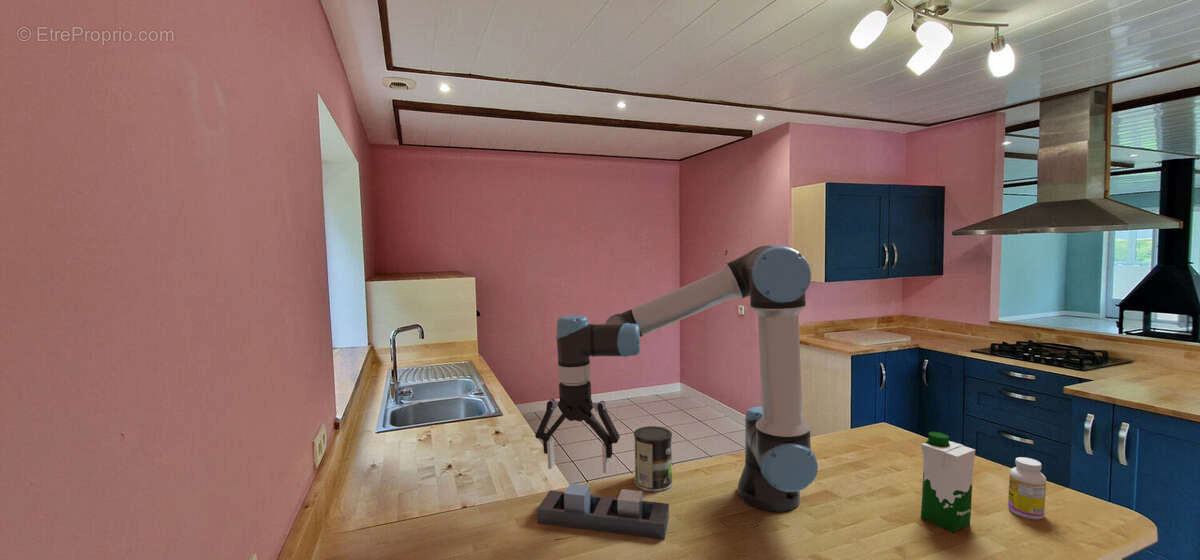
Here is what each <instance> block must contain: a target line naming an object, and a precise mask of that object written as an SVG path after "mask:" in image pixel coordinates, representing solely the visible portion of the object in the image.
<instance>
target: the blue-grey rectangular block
mask: <svg viewBox="0 0 1200 560" xmlns="http://www.w3.org/2000/svg"><path fill="white" fill-rule="evenodd" d="M564 492H565V493H564V507H563V510H569V511H577V512H586V513H591V511H590V495H591V485H588V484H580V483H570V484H568V487H567V488H566V490H565V491H564Z"/></svg>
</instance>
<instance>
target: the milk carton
mask: <svg viewBox="0 0 1200 560" xmlns="http://www.w3.org/2000/svg"><path fill="white" fill-rule="evenodd" d="M927 437H928V439H927V440H926V441H924V442H922V443H921V444H920V446H921V453H922V460H923V461H922V462H923V466H922V467H923V468H922V469H923V470H922V491H921V492H922V494H921V508H920V510H921V511H920V518H921V519H923V520H925V521H927V522H929V523H932V524H934V525H936V526H938V527H941V528H942V529H944V530H946V531H949V532H951V533H955V532H957V531H959V530H962V529H963V528H965V527H967V526H970V525H971V515H972V499H973V498H972V496H973V476H974V475H973V474H974V463H975V457H976V456H975V455H976V449H974V448H971V447H969V446H965V445H963V444H961V443H957V442H955V441H950V436H949V435H948V434H946V433H944V432H939V431H929V432H928V435H927Z"/></svg>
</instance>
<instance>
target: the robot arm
mask: <svg viewBox="0 0 1200 560" xmlns="http://www.w3.org/2000/svg"><path fill="white" fill-rule="evenodd" d="M811 280H812V271H811V267H810V264H809V262H808V260H807V259H806V257H805V256H804V255H803V254H801V252H799V251H798V250H796V249H794V248H792V247H789V246H786V245H777V244H776V245H762V246H759V247H755V248H754V249H752V250H750V251H749V252H746V253H745V254H743V255H741V256H740V257H737V258H736V259H733V260H731V261H729V262H727V263H725V264H724V265H723V268H722V269H721V270H719V271H716V272H714V273H711V274H709V275H707V276H705V277H702V278H700V279H698V280H696V281H693V282H691V283H689V284H686V285H684V286H682V287H679V288H677V289H675V290H672V291H670V292H668V293H665V294H663V295H660V296H659V297H655V298H654V299H651V300H649V301H647V302H644V303H642V304H640V305H637V306H635V307H633V308H630V309H629V310H626V311H623V312H620V313H615V314H613V315H611V316H610V317H608V318H607V320H606V322H605V323H601V324H599V323H598V324H594V323H590V322H589V318H588V316H587V315H580V314H579V315H578V314H574V315H573V314H571V315H564V316H561V317H559V318H558V319H557V321H556V336H555V338H556V347H557V348H556V350H557V366H558V367H557V369H558V370H557V373H558V381H559V383H558V391H559V392H558V393H559V394H558V395H559V397H558V398H559V400H555V399H554V398H550V399H549V400H548V401H547V403H546V410H545V413H544V415H543V417H542V419H541V422H540V424H539V426H538V429H537V431H536V433H535V435H534V436H535V438H536V439H538V440H539V439H540V440H542V441H543V445H542V446H543V453H544V454H546V455H547V470H549V469H550V470H552V469H553V467H554V466H555V464H556V461H555V441H554V437H551V436H552V435H553V434H554V433H555V432H556V431H557V429H558V428H559V427H560V426H561V424H562V423H563V422H564V421H565V420H568V421H569V422H574V421H575V422H576V421H577V422H582V421H584V422H585V423H586V424H587V425H588V426H589V427H590V428H591V429H592V430H593V431H594V432H595V434H596V435H597V436H598V437H599V439H600V440H601V441H602V442H603V444H602V446H601V451H602V454H601V455H602V473H603V474H607V473H608V470H609V469H610V465H609V464H610V461H609V459H611V458H612V456H613V444H617V443H618V441H620V438H621V436H620V434H619V432H618V430H617V429H616V427H615V425H614V423H613V420H612V419H611V417H610V415H609V413H608V411H607V408H606V403H605V401H604V400H600V401H599V402H593V399H592V384H591V381H590V380H591V363H590V361H591V360H590V357H594V358H595V357H623V358H624V357H625V358H626V357H635V356H638V355H639V354H640V352H641V340H640V339H641V337H643V336H645V335H648V334H650V333H652V332H655V331H657V330H660V329H662V328H665V327H667V326H670V325H671V324H674V323H677V322H679V321H681V320H683V319H686V318H688V317H691V316H693V315H696V314H698V313H701V312H703V311H705V310H707V309H708V310H709V309H711V308H712V307H715V306H718V305H720V304H722V303H725V302H727V301H729V300H732V299H734V298H736V299H739V300H743V299H745V298H747V297H749V300H750V308H751V309H752V310H753V311H754V312H755V313H756V314H757V323H758V324H757V325H758V344H759V346H758V347H759V349H758V350H759V370H760V371H759V372H760V391H761V392H760V393H761V406H752V407H750V408H748V409H747V410H746V412H745V419H744V422H745V429H744V430H745V432H744V433H745V434H744V435H745V436H744V437H745V440H744V442H745V445H744V446H745V449H744V450H745V455H744V457H745V459H744V462H745V463H744V467H743V469H742V472H741V475H740V477H739V480H738V483H737V495H738V496H739V498H740V499H741V500H742V501H743V503H746V504H747V505H748V506H751V507H753V508H756V509H759V510H763V511H766V512H767V511H769V512H777V513H778V512H788V511H791V510H794V509H796V508H797V507H798V506H799V505H800V502H801V493H800V491H802V490H805V489H807V488H808V487H809V485H810V484H812V483H813V482H814V481H815V479H816V477H817V476H818V475H817V474H818V472H819V466H818V461H817V457H816V455H815V453H814V452H813V451H812V444H811V425H810V424H809V423H808V422H807V421H805V420H804V419H803V398H802V396H803V395H802V372H801V371H802V369H801V346H800V345H801V344H800V343H801V342H800V319H799V318H800V315H799V314H800V313H801V312H802V310H804V309H805V308H806V305H807V304H806V292H807V290H808V289H809V288H810V284H811ZM557 408H558V409H559V410H560V412H561V413H562V414H561V415H560V416H559V417H558V418H557V420H556V421H555V422H554V424H552V426H551V427H550V428H549V429H548V431H547V432H545V431H546V428H547V426H548V424H549V421H550V420H551V417H552V415H553V413H554V411H556V410H557ZM593 409H594V410H595V412H596V413H598V416H599V418H600V420H601V422H602V424H603V425H602V424H601V423H600V422H599V420H598V419H597V418H596V417H595V415H594V413H593V412H592V410H593Z"/></svg>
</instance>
